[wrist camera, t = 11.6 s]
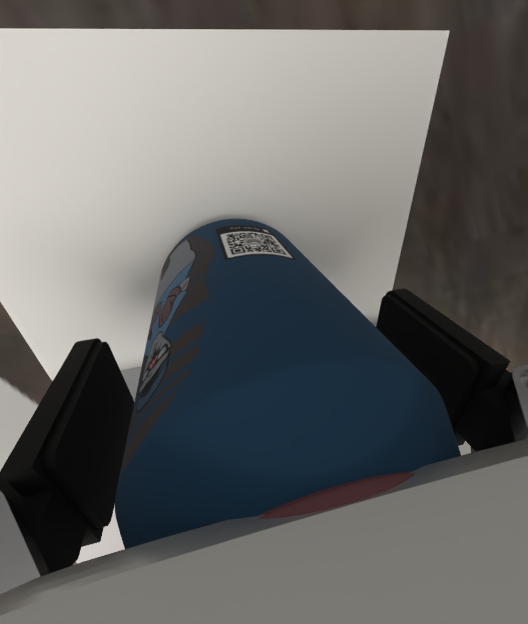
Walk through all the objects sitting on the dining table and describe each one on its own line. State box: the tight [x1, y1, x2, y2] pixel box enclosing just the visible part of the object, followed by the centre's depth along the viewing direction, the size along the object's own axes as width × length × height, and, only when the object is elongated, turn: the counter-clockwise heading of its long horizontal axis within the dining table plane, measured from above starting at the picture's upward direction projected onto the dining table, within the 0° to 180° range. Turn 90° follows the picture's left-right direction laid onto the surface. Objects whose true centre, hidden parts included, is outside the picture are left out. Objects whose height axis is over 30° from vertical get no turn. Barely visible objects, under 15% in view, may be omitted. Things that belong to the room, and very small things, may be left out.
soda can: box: [115, 219, 461, 549], centre depth 9 cm, size 7×7×12 cm
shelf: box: [0, 29, 449, 402], centre depth 13 cm, size 20×15×7 cm
